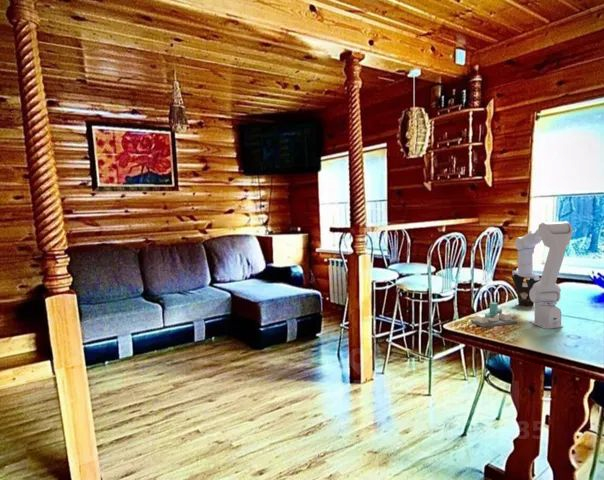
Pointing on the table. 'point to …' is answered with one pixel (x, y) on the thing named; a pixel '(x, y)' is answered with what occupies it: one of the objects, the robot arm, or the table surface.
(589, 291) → the table surface
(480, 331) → the table surface
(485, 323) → the display stand
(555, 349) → the table surface
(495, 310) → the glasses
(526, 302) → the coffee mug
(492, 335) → the table surface
